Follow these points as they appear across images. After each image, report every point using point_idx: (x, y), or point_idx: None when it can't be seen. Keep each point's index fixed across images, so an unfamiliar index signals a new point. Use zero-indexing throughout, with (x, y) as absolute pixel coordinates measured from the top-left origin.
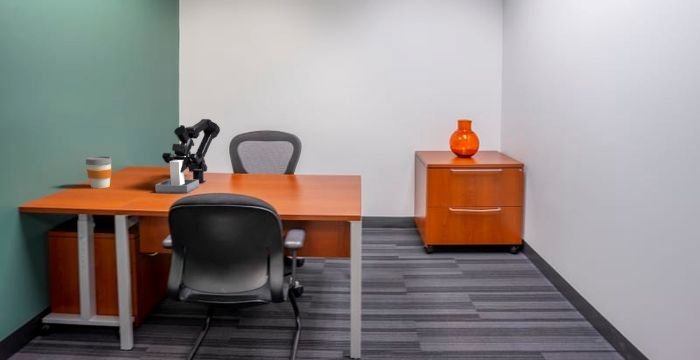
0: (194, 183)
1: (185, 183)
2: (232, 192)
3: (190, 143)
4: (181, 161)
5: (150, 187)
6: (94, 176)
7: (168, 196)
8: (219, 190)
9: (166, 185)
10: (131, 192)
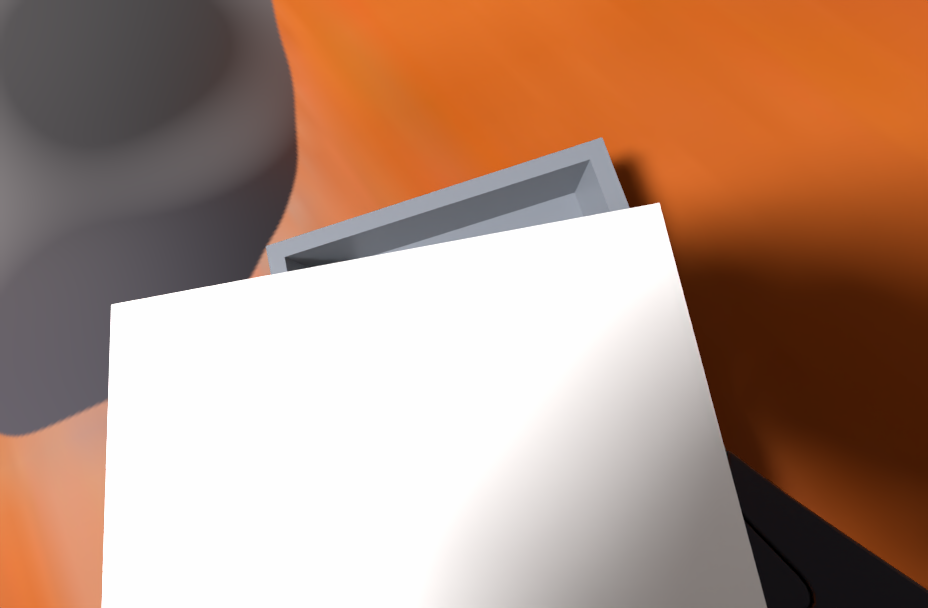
0: None
1: None
2: (13, 463)
3: None
4: (136, 595)
5: (860, 397)
6: None
7: (387, 120)
8: None
9: (477, 180)
10: (805, 108)
